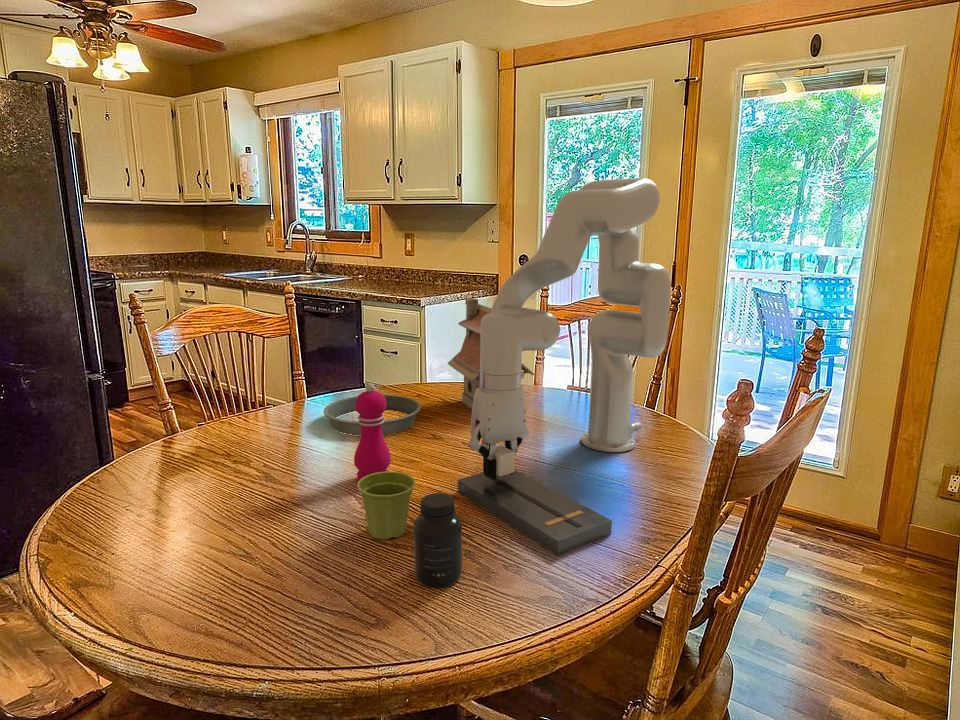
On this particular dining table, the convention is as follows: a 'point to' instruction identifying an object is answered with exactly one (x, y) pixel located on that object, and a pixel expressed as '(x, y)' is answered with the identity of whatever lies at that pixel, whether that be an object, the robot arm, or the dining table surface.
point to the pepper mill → (371, 434)
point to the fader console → (536, 511)
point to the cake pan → (389, 425)
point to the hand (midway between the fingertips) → (498, 473)
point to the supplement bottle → (438, 542)
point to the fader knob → (504, 461)
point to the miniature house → (472, 350)
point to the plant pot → (386, 502)
